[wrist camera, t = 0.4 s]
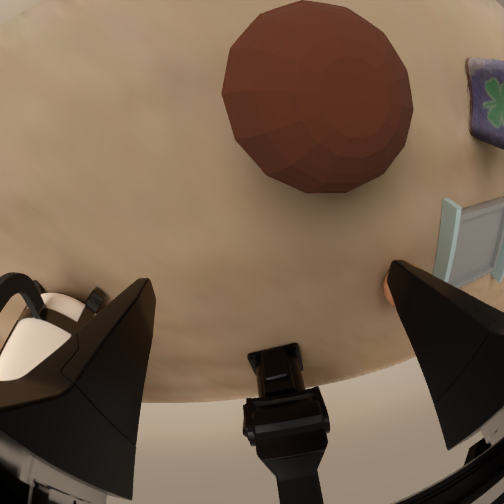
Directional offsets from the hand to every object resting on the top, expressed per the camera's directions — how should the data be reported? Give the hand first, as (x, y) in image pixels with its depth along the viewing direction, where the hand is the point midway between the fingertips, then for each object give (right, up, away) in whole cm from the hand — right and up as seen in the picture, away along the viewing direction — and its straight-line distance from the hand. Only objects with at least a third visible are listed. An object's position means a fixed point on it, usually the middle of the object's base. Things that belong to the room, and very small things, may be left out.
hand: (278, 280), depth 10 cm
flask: (+22, +17, +8) cm, 29 cm away
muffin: (+3, +13, +9) cm, 16 cm away
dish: (+29, +2, +18) cm, 34 cm away
